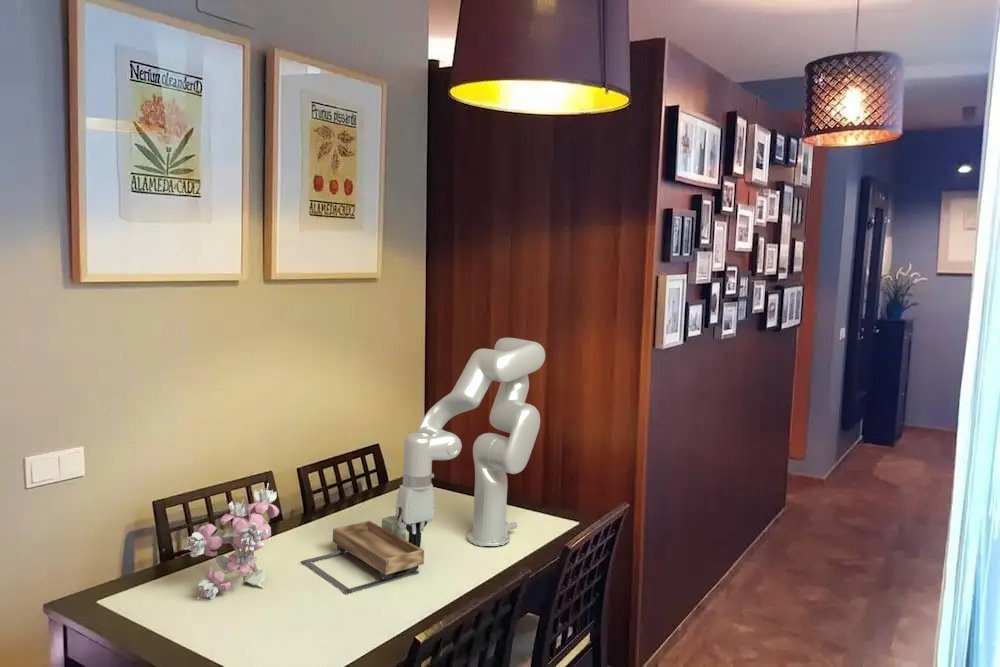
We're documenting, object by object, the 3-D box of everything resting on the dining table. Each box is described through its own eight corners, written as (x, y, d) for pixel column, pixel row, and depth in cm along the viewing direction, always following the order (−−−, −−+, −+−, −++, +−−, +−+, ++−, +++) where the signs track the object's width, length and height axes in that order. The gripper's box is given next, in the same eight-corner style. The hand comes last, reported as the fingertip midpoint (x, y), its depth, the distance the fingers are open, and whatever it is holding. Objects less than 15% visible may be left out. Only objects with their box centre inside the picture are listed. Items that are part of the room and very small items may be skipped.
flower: (189, 562, 198) (178, 491, 185) (279, 545, 206) (275, 476, 193) (191, 627, 183) (179, 554, 169) (289, 606, 190) (285, 535, 177)
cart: (368, 541, 220) (369, 520, 220) (423, 572, 201) (424, 550, 200) (332, 549, 213) (332, 528, 212) (385, 583, 193) (386, 560, 192)
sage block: (395, 538, 226) (396, 514, 225) (405, 543, 222) (406, 519, 221) (381, 541, 222) (382, 518, 222) (391, 547, 219) (391, 523, 218)
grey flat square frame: (370, 545, 219) (370, 543, 219) (418, 573, 202) (418, 571, 202) (300, 562, 205) (300, 560, 205) (345, 594, 187) (346, 592, 187)
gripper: (431, 472, 214) (428, 536, 216) (385, 480, 204) (383, 547, 206) (447, 479, 209) (445, 545, 210) (401, 488, 199) (399, 557, 200)
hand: (414, 546), depth 208 cm, fingers closed
